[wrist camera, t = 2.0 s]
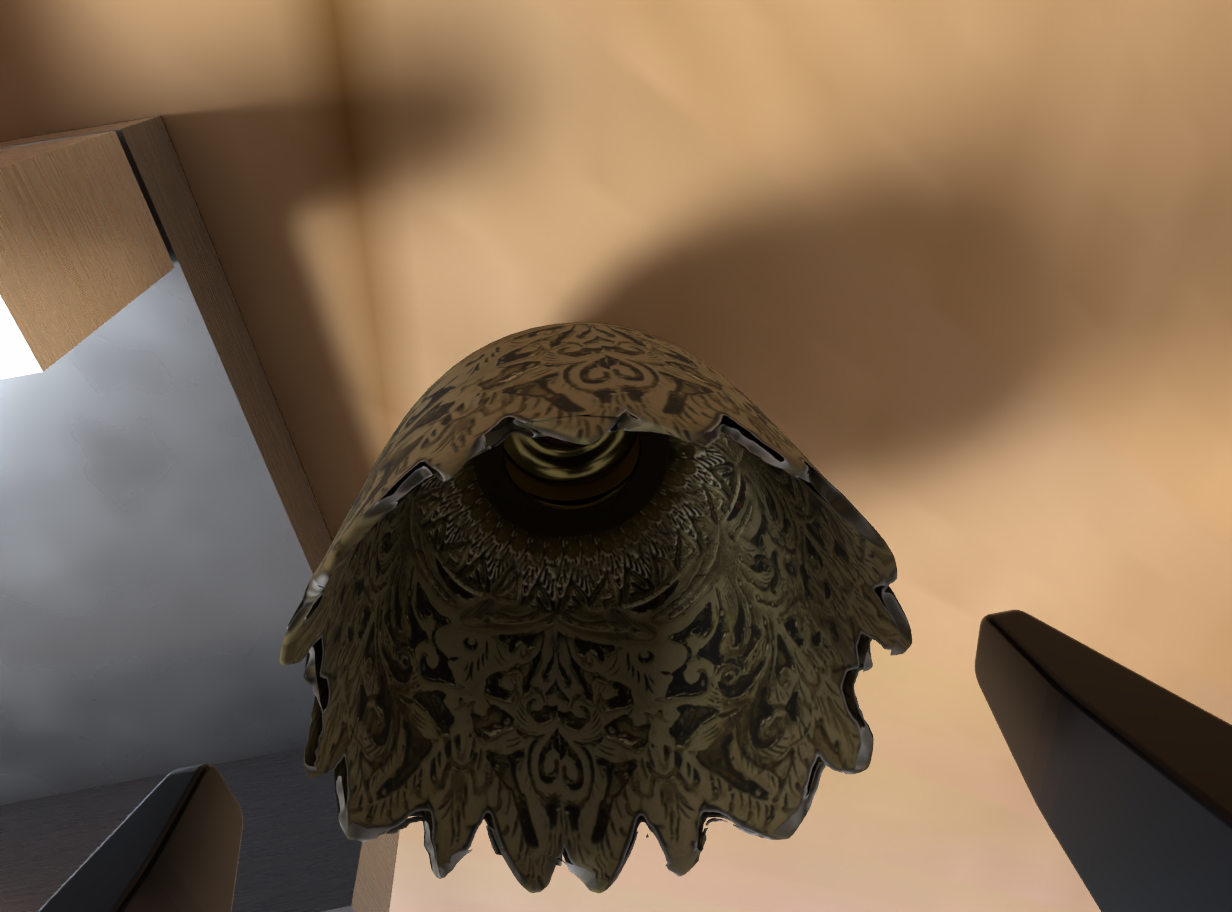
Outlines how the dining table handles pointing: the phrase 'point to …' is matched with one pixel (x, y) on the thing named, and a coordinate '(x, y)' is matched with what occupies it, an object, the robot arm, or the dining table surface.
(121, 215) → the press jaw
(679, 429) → the ornate bronze lampshade
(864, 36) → the dining table surface
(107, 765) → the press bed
